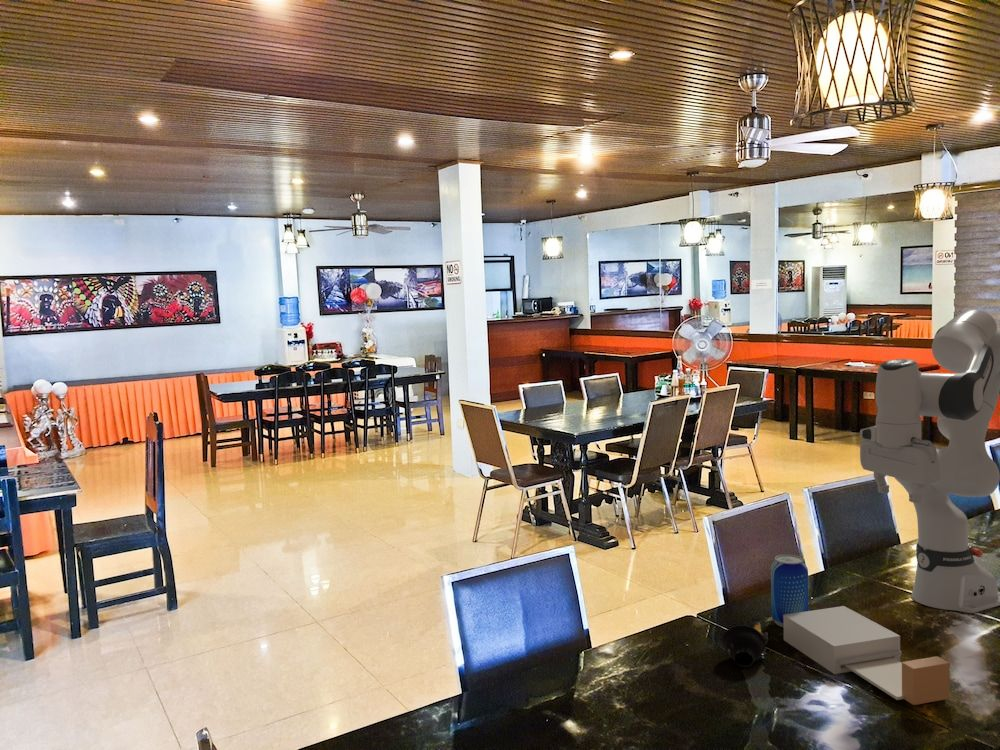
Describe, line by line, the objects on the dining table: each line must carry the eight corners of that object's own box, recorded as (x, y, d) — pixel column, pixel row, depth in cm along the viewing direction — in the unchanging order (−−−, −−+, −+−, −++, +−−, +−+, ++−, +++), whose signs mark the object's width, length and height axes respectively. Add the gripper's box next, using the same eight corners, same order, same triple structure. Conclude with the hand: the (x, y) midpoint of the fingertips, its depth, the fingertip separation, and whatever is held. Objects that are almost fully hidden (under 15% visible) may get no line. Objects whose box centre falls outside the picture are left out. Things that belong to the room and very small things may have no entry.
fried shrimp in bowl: (715, 649, 165) (715, 594, 181) (737, 688, 168) (735, 630, 184) (757, 639, 161) (753, 584, 177) (779, 678, 164) (773, 620, 180)
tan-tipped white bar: (873, 649, 169) (873, 618, 169) (956, 697, 147) (956, 661, 147) (829, 656, 167) (828, 624, 166) (906, 706, 145) (906, 670, 144)
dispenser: (844, 630, 182) (843, 605, 182) (903, 665, 164) (903, 637, 164) (783, 640, 179) (783, 614, 178) (837, 676, 160) (837, 648, 160)
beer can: (803, 616, 192) (802, 553, 191) (813, 630, 184) (812, 564, 182) (768, 616, 193) (766, 553, 192) (776, 630, 184) (775, 564, 183)
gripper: (948, 440, 159) (948, 506, 160) (878, 427, 179) (878, 486, 180) (922, 443, 158) (922, 509, 159) (854, 429, 177) (855, 489, 178)
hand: (898, 497), depth 169 cm, fingers open, 8 cm apart
